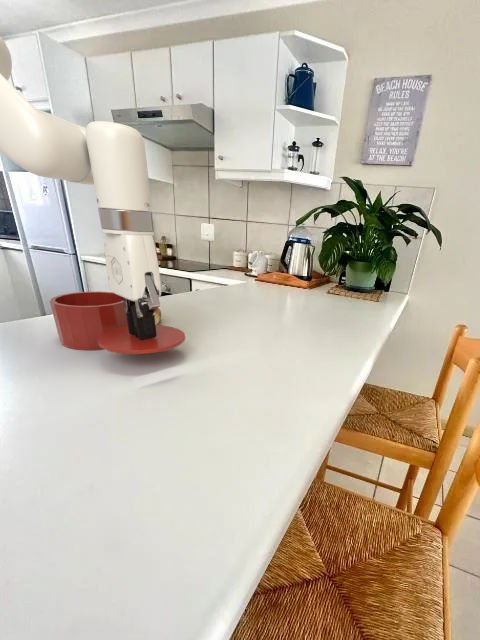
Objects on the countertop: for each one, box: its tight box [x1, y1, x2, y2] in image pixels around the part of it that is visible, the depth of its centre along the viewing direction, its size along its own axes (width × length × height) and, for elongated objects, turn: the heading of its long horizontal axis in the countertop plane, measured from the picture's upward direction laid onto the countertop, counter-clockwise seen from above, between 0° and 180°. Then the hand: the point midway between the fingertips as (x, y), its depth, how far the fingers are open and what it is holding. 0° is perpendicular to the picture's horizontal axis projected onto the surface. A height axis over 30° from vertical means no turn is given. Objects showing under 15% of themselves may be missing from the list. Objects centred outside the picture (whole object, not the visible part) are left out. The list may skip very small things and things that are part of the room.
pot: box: [49, 291, 129, 351], centre depth 67 cm, size 14×14×8 cm
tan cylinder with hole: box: [154, 307, 162, 325], centre depth 80 cm, size 8×4×4 cm, turn 15°
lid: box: [98, 304, 186, 355], centre depth 58 cm, size 15×15×7 cm
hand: (142, 334), depth 59 cm, fingers closed on lid, 2 cm apart
